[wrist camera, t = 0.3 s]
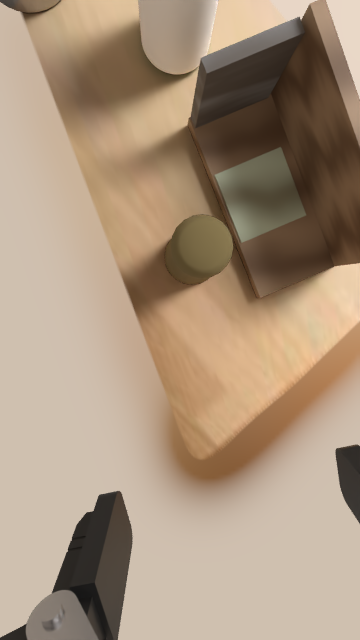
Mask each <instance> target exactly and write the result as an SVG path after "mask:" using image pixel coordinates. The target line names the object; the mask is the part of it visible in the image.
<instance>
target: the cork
mask: <svg viewBox="0 0 360 640" xmlns="http://www.w3.org/2000/svg"><path fill="white" fill-rule="evenodd" d="M232 252H233V241H232V236H231V234H230V232H229V230H228V228H227V227H226V226H225V225H224V224H223V222H222V221H220V220H218V219H217V218H215V217H213V216H208V215H203V214H202V215H195V216H192V217H190V218H188V219H186V220H184V221H183V222H182V223H181V224H180V225H179V226H178V227H177V228H176V230H175V232H174V234H173V236H172V239H171V240H170V241H169V243H168V245H167V247H166V251H165V263H166V267H167V269H168V271H169V273H170V274H171V275H172V276H173V277H174V278H175V279H176V280H178V281H180V282H182V283H185V284H191V285H193V284H199V283H202V282H204V281H206V280H208V279H209V278H210V277H212V276H214V275H216V274H218V273H220V272H221V271H222V270H223V269H224V268H225V267H226V266H227V265H228V263H229V261H230V259H231V257H232Z"/></svg>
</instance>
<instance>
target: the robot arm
mask: <svg viewBox="0 0 360 640" xmlns="http://www.w3.org/2000/svg"><path fill="white" fill-rule="evenodd" d="M59 1H60V0H0V2H1V3H3V4H4V5H6V6H7V7H9V8H12V9H14V10H17V11H21V12H26V13H32V12H40V11H43V10H47V9H49V8H50V7H52V6H54V5H55V4H57V3H58V2H59ZM336 460H337V467H338V474H339V482H340V488H341V491H342V494H343V497H344V499H345V501H346V503H347V505H348V506H349V508H350V509H351V511H352V512H353V514H354V515H355V517H356V518H357V520H358V522H359V523H360V446H359V445H352V446H347V447H342V448H337V449H336ZM131 549H132V529H131V524H130V521H129V517H128V514H127V510H126V507H125V504H124V500H123V497H122V494H121V492H120V491H116V492H111V493H106V494H101V495H99V496H98V499H97V502H96V506H95V509H94V511H93V512H87V513H86V514H85V515H84V517H83V518H82V519H81V520H80V521H79V523H78V524H77V526H76V529H75V531H74V534H73V537H72V541H71V542H70V545H69V547H68V552H67V553H66V556H65V559H64V561H63V564H62V567H61V569H60V572H59V575H58V578H57V580H56V583H55V586H54V589H53V591H52V594H50V595H49V596H47V597H46V598H45V599H43V600H42V601H41V602H40V603H39V604H38V605H37V606H36V607H35V609H34V610H33V612H32V613H31V615H30V617H29V619H28V621H27V624H25V625H24V626H22V627H20V628H18V629H16V630H14V631H12V632H10V633H8V634H6V635H4V636H2V637H1V638H0V640H118V632H119V627H120V620H121V614H122V607H123V601H124V594H125V587H126V581H127V575H128V568H129V562H130V555H131Z"/></svg>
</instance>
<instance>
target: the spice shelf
mask: <svg viewBox="0 0 360 640" xmlns="http://www.w3.org/2000/svg"><path fill="white" fill-rule="evenodd" d="M188 127H189V129H190V132H191V134H192V137H193V139H194V142H195V144H196V147H197V149H198V152H199V154H200V157H201V159H202V162H203V164H204V167H205V169H206V172H207V174H208V177H209V179H210V182H211V184H212V187H213V189H214V192H215V194H216V197H217V199H218V202H219V204H220V207H221V209H222V212H223V214H224V217H225V220H226V222H227V225H228V227H229V230H230V232H231V235H232V237H233V240H234V242H235V245H236V247H237V250H238V252H239V255H240V257H241V260H242V262H243V265H244V267H245V270H246V272H247V275H248V277H249V280H250V282H251V285H252V287H253V290H254V292H255V295H256V297H257V298H262V297H264V296H267V295H269V294H271V293H274V292H276V291H278V290H280V289H283V288H285V287H287V286H290V285H292V284H294V283H297V282H299V281H301V280H304V279H306V278H308V277H311V276H313V275H315V274H318V273H320V272H322V271H325V270H327V269H329V268H332V267H334V266H340V265H348V264H356V263H360V99H359V96H358V93H357V90H356V88H355V85H354V81H353V79H352V76H351V73H350V70H349V67H348V64H347V61H346V58H345V55H344V52H343V49H342V46H341V44H340V41H339V38H338V35H337V32H336V29H335V26H334V23H333V20H332V17H331V14H330V11H329V8H328V6H327V2H326V0H318V1H315V2H313V3H311V4H310V5H309V6H308V8H307V10H306V13H305V14H304V16H303V18H302V20H300V17H297V18H295V19H293V20H290V21H288V22H285V23H283V24H281V25H278V26H276V27H274V28H271V29H269V30H266V31H264V32H262V33H259V34H257V35H254V36H252V37H250V38H247V39H245V40H242V41H240V42H238V43H235V44H233V45H230V46H228V47H226V48H223V49H221V50H219V51H216V52H214V53H211V54H209V55H207V56H204V57H202V58H201V60H200V66H199V71H198V77H197V83H196V89H195V95H194V101H193V106H192V112H191V117H190V118H189V120H188Z"/></svg>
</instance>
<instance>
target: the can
mask: <svg viewBox="0 0 360 640" xmlns="http://www.w3.org/2000/svg"><path fill="white" fill-rule="evenodd" d="M138 4H139V17H140V29H141V41H142V46H143V49H144V52H145V54H146V56H147V58H148V59H149V61H150V62H151V63H152V64H153V65H154V66H155V67H157V68H158V69H160V70H161V71H163V72H166V73H169V74H185V73H188V72H190V71H192V70H194V69H195V68H197V67H198V66H199V65H200V60H201V58H202V57H204V56H206V55H207V53H208V50H209V45H210V40H211V35H212V30H213V25H214V20H215V15H216V10H217V5H218V0H138Z"/></svg>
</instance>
